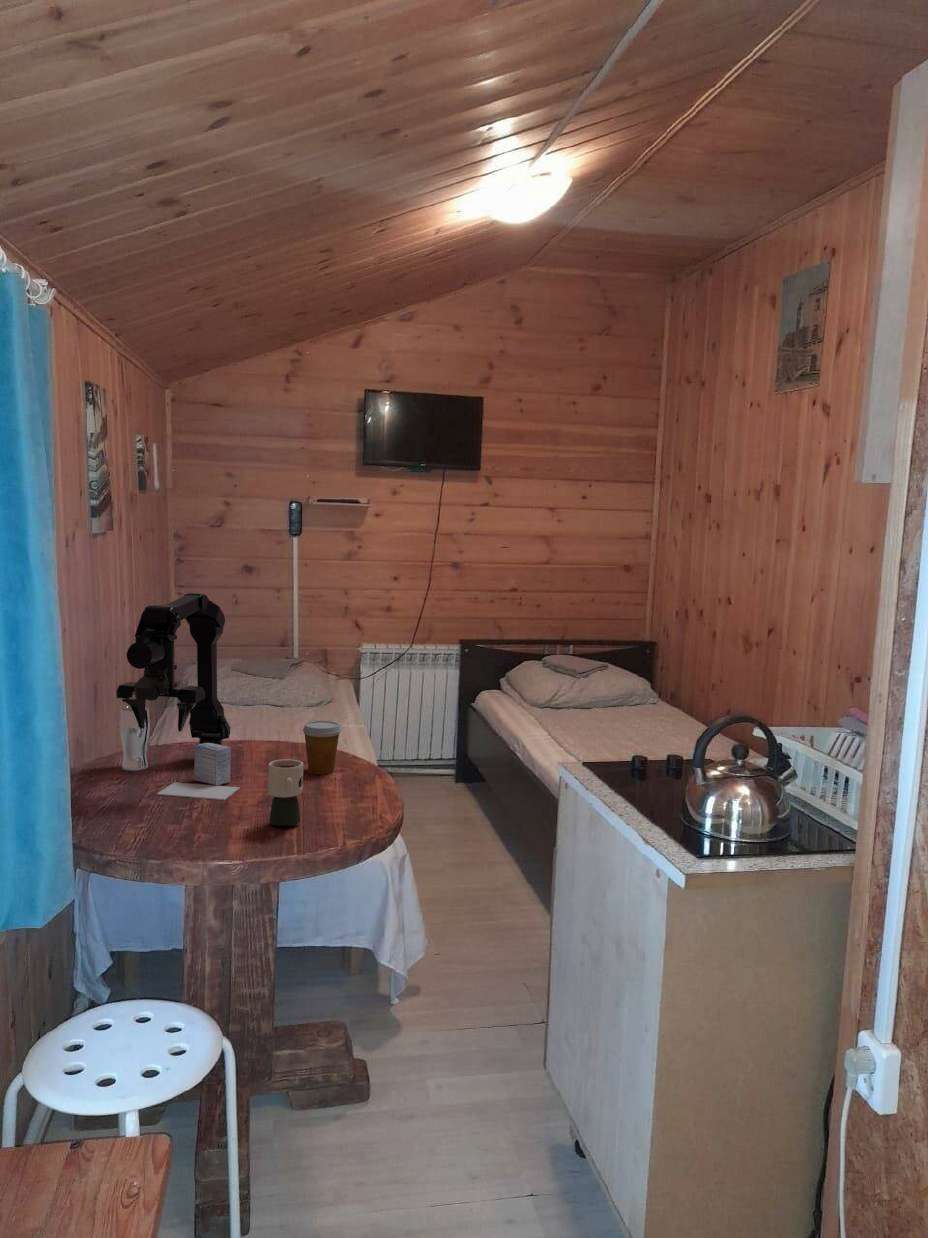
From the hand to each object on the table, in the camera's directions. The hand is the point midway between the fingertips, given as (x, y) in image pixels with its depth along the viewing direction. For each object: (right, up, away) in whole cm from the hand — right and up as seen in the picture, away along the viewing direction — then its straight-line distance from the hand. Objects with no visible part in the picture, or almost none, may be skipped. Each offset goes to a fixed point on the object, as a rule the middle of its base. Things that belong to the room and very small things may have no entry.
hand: (160, 729), depth 206 cm
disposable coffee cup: (+32, -14, +24) cm, 42 cm away
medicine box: (+9, -14, +11) cm, 19 cm away
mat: (+8, -15, +3) cm, 17 cm away
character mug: (+31, -18, -16) cm, 40 cm away
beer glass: (-13, -12, +20) cm, 27 cm away
